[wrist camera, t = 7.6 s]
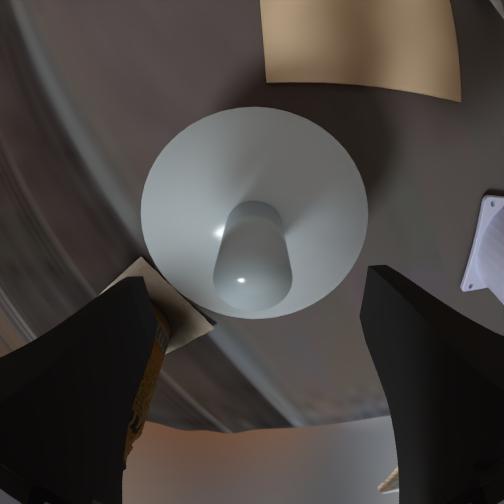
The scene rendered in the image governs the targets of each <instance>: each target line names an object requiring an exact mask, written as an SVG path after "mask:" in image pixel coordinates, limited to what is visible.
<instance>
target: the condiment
mask: <svg viewBox="0 0 504 504" xmlns="http://www.w3.org/2000/svg"><path fill="white" fill-rule="evenodd" d="M127 276H143V277H144V281H145V284H146V288H147V291H148V292H149V293H148V294H149V297H150V301H151V304H152V307H153V310H154V313H155V316H156V319H157V322H158V327H157V331H156V336H155V341H154V345H153V349H152V352H151V355H150V358H149V361H148V364H147V367H146V369H145V372H144V375H143V378H142V381H141V383H140V386H139V389H138V392H137V395H136V398H135V401H134V404H133V408H132V411H131V415H130V420H129V426H128V431H127V437H126V444H125V452H124V461H123V471H124V470H125V469H126V459H127V456H128V455H129V453H130V451H131V450H132V448H133V447H132V443H133V442H134V441H135V440H137V439H138V438H139V437H140V435H141V434H142V430H143V427H144V423H145V420H146V416H147V413H148V409H149V405H150V402H151V399H152V395H153V392H154V390H155V386H156V382H157V379H158V376H159V372H160V369H161V366H162V363H163V360H164V357H165V354H167V353H169V352H171V351H172V350H175V349H177V348H179V347H182V346H184V345H185V344H186V343H188V342H190V341H192V340H193V339H195V338H197V337H199V336H201V335H204V334H206V333H207V332H209V331H211V330H212V329H214V327H213V326H212V325H211V324H210V323H209V322H208V321H207V320H206V319H205V318H204V317H203V316H202V315H201V314H200V313H199V312H198V311H197V310H196V309H195V308H193V307H192V305H191V304H190V303H189V302H188V301H187V300H186V299H185V298H184V297H182V296H181V295H180V294H179V293H178V292H177V291H176V290H175V288H174V287H173V286H172V285H170V284H169V283H168V282H167V281H165V280H164V279H163V278H162V277H161V276H160V274H159V273H158V272H157V271H156V270H155V269H153V268H152V267H151V266H150V265H149V264H148V263H147V262H146V261H145V260H144V259H143V258H142V257H140V258H139V259H138V260H136V261H135V262H134V263H133V264H132V265H131V266H130V267H129V268H128V269H126V270H125V271H124V272H123V273H122V274H121V275H120V276H119V277H118V278H117V279H116V280H115V281H113V282H112V283H111V284H110V285H109V286H108V287H107V288H106V289H105V290H104V291H106V290H107V289H108V288H110V287H111V286H113V285H114V284H116V283H117V282H119V281H120V280H122V279H124V278H125V277H127ZM104 291H103V292H104ZM103 292H102V293H103ZM102 293H101V294H102ZM98 296H99V295H98ZM174 331H175V333H174Z"/></svg>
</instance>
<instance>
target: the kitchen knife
mask: <svg viewBox="0 0 504 504" xmlns="http://www.w3.org/2000/svg"><path fill="white" fill-rule="evenodd" d="M490 1H491V3H492V4H493V5H494V7H495V8H496V9H497V11H498V12H499V13H500V15H501V16H502V18H503V19H504V9H503V5H502V3H501V0H490Z"/></svg>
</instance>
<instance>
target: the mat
mask: <svg viewBox="0 0 504 504" xmlns="http://www.w3.org/2000/svg"><path fill="white" fill-rule="evenodd" d="M260 8H261V20H262V31H263V44H264V57H265V70H266V83H333V84H348V85H360V86H370V87H379V88H387V89H394V90H401V91H407V92H413V93H418V94H423V95H429V96H433V97H438V98H442V99H447V100H451V101H455V102H461V79H460V65H459V54H458V46H457V38H456V31H455V25H454V19H453V14H452V9H451V4H450V0H260Z"/></svg>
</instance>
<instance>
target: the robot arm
mask: <svg viewBox="0 0 504 504" xmlns="http://www.w3.org/2000/svg"><path fill="white" fill-rule="evenodd" d="M491 202H492V203H491ZM482 288H489V289H490V290H491V291H492V292H493V293H494V294H495V295H496V297H497V298H498V299H499V300H500V301H501V302H502V303H503V305H504V196H494V195H485V196H484V197H483V199H482V204H481V209H480V214H479V219H478V224H477V228H476V233H475V237H474V241H473V245H472V249H471V253H470V256H469V260H468V263H467V267H466V270H465V273H464V277H463V280H462V283H461V289H462V290H463V291H471V290H477V289H482ZM360 320H361V324H362V329H363V333H364V336H365V340H366V344H367V346H368V349H369V352H370V354H371V357H372V360H373V362H374V365H375V368H376V370H377V373H378V376H379V378H380V381H381V384H382V387H383V389H384V392H385V395H386V398H387V402H388V405H389V409H390V414H391V418H392V424H393V429H394V435H395V442H396V449H397V458H398V470H399V504H504V336H502V335H500V334H497V333H495V332H493V331H491V330H489V329H487V328H485V327H483V326H482V325H480V324H478V323H476V322H474V321H472V320H471V319H469V318H467V317H465V316H464V315H462V314H460V313H459V312H457V311H456V310H454V309H452V308H451V307H449V306H448V305H446V304H444V303H443V302H441V301H440V300H438V299H437V298H435V297H434V296H432V295H431V294H430V293H428V292H427V291H425V290H424V289H422V288H421V287H419V286H418V285H416V284H415V283H414V282H412V281H411V280H409V279H408V278H406V277H405V276H403V275H402V274H400V273H399V272H397V271H396V270H394V269H392V268H391V267H389V266H387V265H375V266H368V271H367V278H366V284H365V290H364V295H363V301H362V306H361V311H360ZM157 327H158V322H157V319H156V316H155V313H154V310H153V307H152V304H151V301H150V297H149V294H148V291H147V288H146V284H145V281H144V277H143V276H127V277H125V278H124V279H122V280H120V281H119V282H117V283H116V284H114V285H113V286H111V287H110V288H108V289H107V290H106V291H104V292H103V293H102V294H100V295H99V296H97V297H96V298H95V299H93V300H92V301H91V302H89V303H88V304H87V305H85V306H84V307H83V308H81V309H80V310H79V311H77V312H76V313H74V314H73V315H72V316H70V317H69V318H67V319H66V320H65V321H63V322H62V323H60V324H59V325H58V326H56V327H55V328H53V329H52V330H50V331H48V332H47V333H45V334H44V335H42V336H40V337H39V338H37V339H35V340H34V341H32V342H30V343H28V344H27V345H25V346H23V347H21V348H19V349H17V350H15V351H13V352H11V353H9V354H7V355H5V356H3V357H1V358H0V504H122V476H123V461H124V452H125V444H126V437H127V431H128V426H129V420H130V415H131V411H132V408H133V404H134V401H135V398H136V395H137V392H138V389H139V386H140V383H141V381H142V378H143V375H144V372H145V369H146V367H147V364H148V361H149V358H150V355H151V352H152V349H153V345H154V341H155V336H156V331H157Z"/></svg>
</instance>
